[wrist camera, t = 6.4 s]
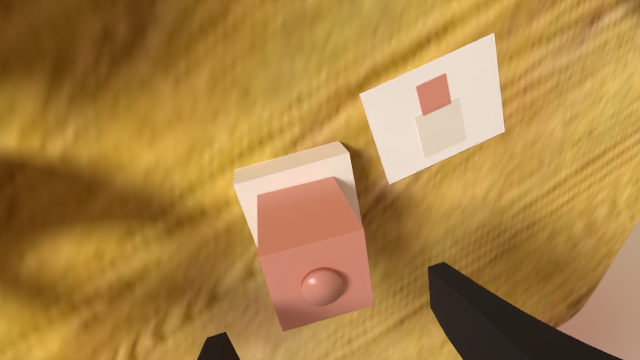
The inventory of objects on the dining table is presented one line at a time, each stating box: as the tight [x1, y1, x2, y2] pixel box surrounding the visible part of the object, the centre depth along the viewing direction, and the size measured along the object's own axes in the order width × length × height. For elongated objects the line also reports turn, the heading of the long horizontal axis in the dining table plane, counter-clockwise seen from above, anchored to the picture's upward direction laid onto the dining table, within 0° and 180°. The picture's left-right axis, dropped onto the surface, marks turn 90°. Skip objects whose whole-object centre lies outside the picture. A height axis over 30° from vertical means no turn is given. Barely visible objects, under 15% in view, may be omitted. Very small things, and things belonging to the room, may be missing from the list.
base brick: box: [233, 141, 363, 248], centre depth 18 cm, size 6×6×2 cm
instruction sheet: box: [359, 33, 505, 185], centre depth 18 cm, size 6×8×1 cm
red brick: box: [257, 176, 374, 332], centre depth 14 cm, size 4×4×5 cm
